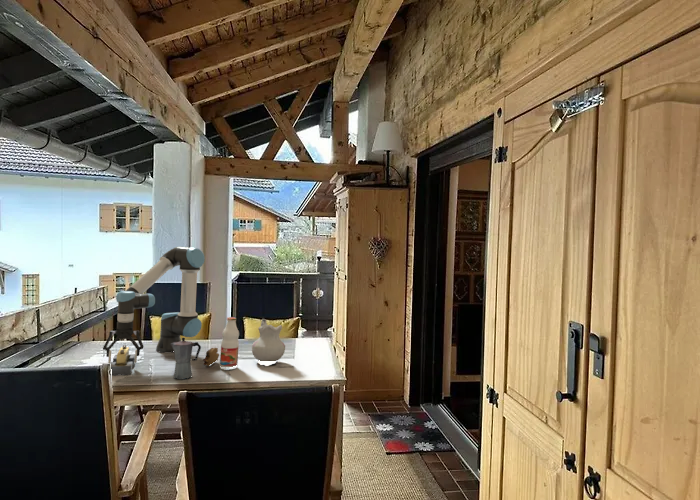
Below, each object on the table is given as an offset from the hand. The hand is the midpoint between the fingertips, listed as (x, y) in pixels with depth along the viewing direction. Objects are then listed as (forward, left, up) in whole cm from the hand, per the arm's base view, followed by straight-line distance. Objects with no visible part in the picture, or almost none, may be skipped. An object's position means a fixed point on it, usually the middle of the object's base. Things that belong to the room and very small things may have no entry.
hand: (122, 362), depth 228 cm
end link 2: (0, +7, -3) cm, 7 cm away
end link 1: (0, -7, -3) cm, 8 cm away
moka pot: (-30, +19, -3) cm, 36 cm away
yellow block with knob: (0, 0, -2) cm, 2 cm away
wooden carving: (-44, 0, -3) cm, 44 cm away
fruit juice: (-53, +6, -3) cm, 54 cm away
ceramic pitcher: (-76, -2, -3) cm, 76 cm away
